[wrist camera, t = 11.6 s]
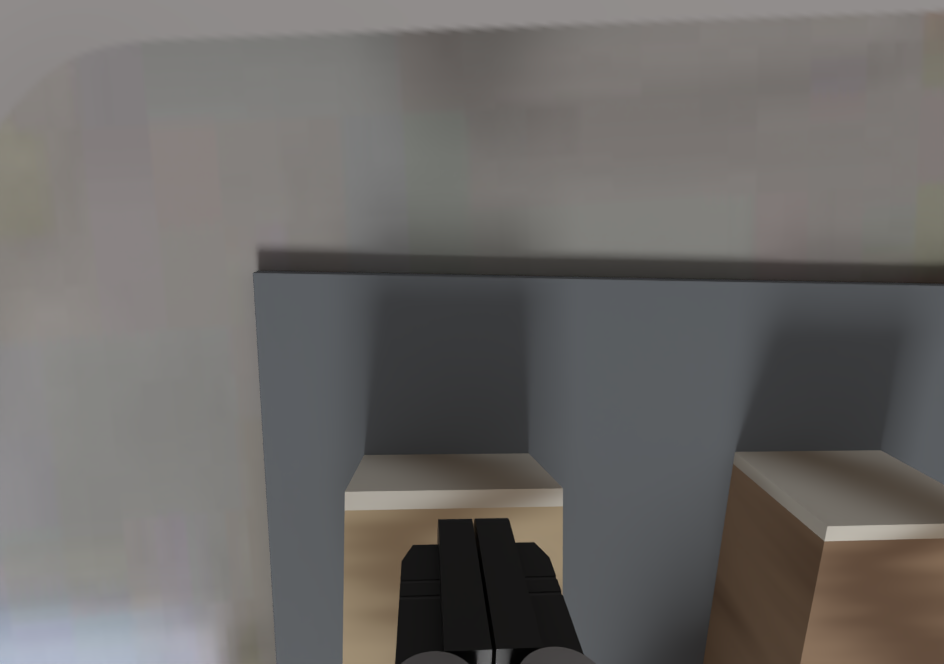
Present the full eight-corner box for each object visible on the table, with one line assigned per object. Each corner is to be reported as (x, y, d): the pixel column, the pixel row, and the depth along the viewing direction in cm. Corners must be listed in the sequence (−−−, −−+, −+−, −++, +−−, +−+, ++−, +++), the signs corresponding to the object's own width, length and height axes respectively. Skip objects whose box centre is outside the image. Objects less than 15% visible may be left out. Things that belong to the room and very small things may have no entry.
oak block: (563, 488, 15) (561, 890, 15) (528, 453, 20) (527, 755, 20) (344, 491, 15) (339, 909, 15) (364, 455, 20) (360, 765, 20)
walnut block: (1012, 521, 17) (932, 803, 19) (880, 450, 22) (830, 682, 24) (827, 526, 16) (770, 815, 19) (734, 451, 21) (699, 689, 24)
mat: (987, 284, 21) (1003, 287, 21) (891, 676, 25) (902, 687, 25) (258, 270, 19) (252, 273, 18) (283, 706, 23) (280, 719, 22)
